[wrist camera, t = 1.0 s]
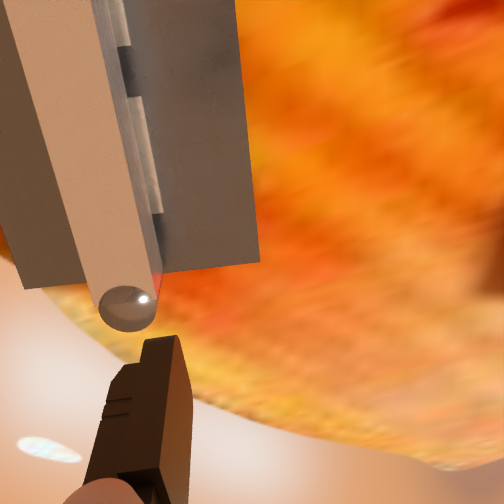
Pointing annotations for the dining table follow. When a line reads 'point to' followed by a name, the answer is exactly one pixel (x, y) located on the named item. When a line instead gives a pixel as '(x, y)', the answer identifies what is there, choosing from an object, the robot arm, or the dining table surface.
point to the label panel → (143, 143)
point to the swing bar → (92, 151)
